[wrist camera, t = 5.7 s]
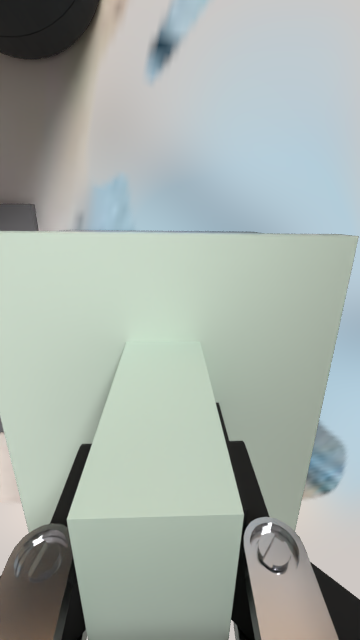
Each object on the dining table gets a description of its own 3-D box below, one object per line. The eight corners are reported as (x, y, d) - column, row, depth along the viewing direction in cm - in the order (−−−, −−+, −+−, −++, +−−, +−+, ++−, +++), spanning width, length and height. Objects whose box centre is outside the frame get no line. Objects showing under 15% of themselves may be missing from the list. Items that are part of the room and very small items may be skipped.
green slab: (318, 232, 11) (708, 271, 3) (273, 495, 16) (381, 779, 8) (2, 228, 11) (-510, 265, 3) (54, 501, 15) (-70, 810, 7)
